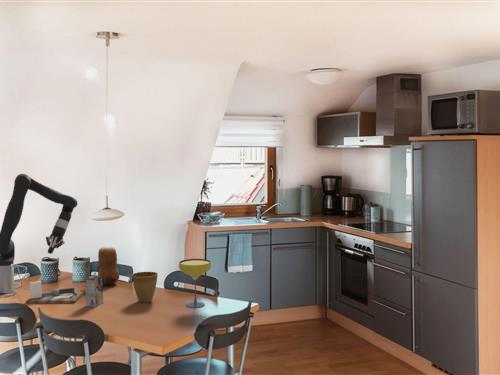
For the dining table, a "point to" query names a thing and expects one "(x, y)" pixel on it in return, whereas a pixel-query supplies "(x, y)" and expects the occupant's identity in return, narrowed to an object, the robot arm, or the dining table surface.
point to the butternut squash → (108, 265)
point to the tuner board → (57, 298)
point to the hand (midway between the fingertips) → (49, 253)
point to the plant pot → (144, 285)
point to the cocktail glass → (195, 274)
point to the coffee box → (94, 290)
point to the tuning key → (37, 292)
